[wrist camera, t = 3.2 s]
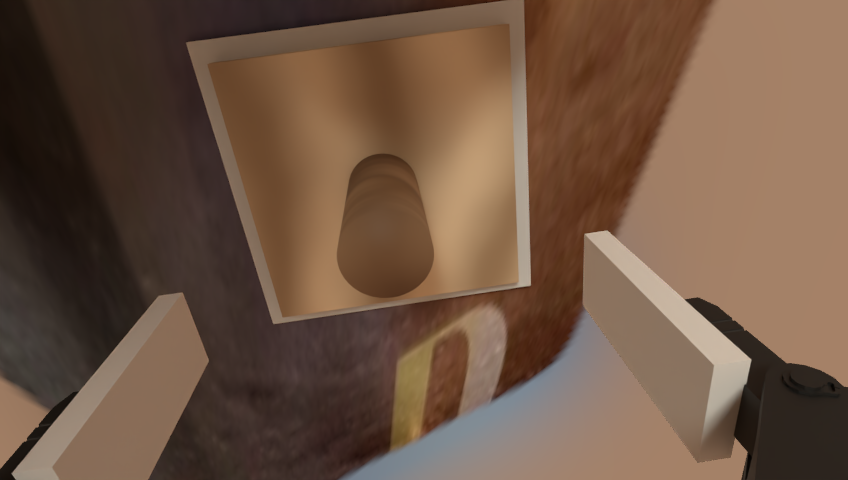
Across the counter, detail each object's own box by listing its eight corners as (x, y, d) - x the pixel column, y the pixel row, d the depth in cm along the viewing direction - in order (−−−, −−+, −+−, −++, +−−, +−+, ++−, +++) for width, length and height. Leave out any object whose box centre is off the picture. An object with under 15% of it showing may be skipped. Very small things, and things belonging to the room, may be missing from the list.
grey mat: (274, 320, 29) (273, 324, 29) (188, 41, 22) (185, 42, 22) (529, 282, 30) (530, 285, 29) (521, -2, 23) (523, -2, 23)
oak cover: (285, 308, 28) (249, 423, 20) (213, 62, 22) (121, 86, 14) (514, 274, 29) (568, 373, 21) (504, 23, 23) (574, 26, 15)
